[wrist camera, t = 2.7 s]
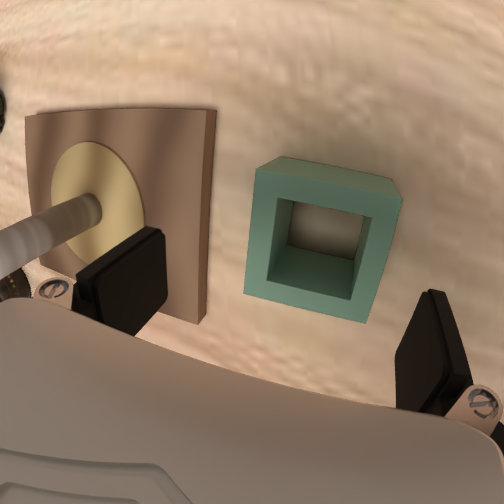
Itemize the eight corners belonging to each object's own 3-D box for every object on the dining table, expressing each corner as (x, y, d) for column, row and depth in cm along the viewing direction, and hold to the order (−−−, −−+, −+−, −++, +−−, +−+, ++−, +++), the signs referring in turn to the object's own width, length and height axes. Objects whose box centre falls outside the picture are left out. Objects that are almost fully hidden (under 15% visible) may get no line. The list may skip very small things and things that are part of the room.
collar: (392, 179, 18) (402, 199, 13) (366, 280, 21) (365, 323, 16) (280, 156, 19) (256, 169, 15) (267, 257, 22) (243, 293, 18)
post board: (216, 110, 19) (56, 123, 8) (205, 314, 26) (116, 429, 15) (36, 114, 24) (-75, 141, 13) (49, 259, 31) (-36, 314, 20)
